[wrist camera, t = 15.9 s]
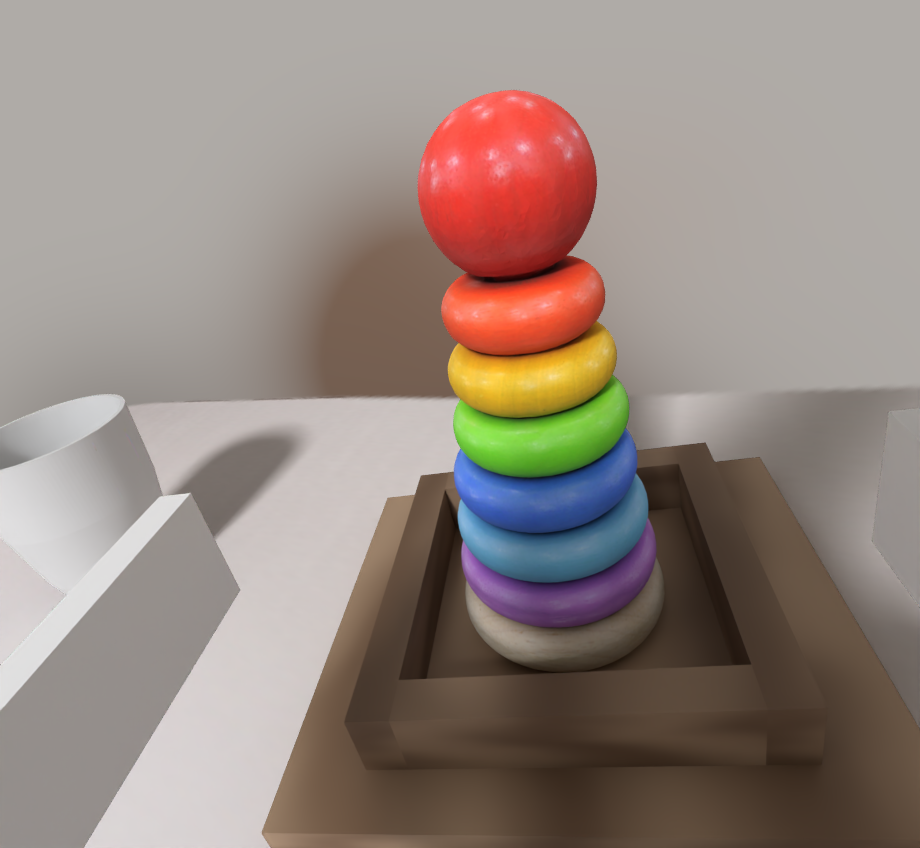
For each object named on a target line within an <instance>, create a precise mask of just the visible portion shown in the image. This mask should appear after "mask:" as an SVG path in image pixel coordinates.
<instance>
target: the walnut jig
mask: <svg viewBox="0 0 920 848" xmlns="http://www.w3.org/2000/svg"><path fill="white" fill-rule="evenodd" d="M636 474H637V475H638V477H639V478H640V479H641V481H642V483H643V485H644V488H645V491H646V493H647V499H648V519H649V520H650V523H651V525H652V528H653V531H654V534H655V539H656V558H657V560H658V562H659V564H660V567H661V570H662V573H663V578H664V587H665V595H664V603H663V607H662V611H661V614H660V616H659V619H658V621H657V623H656V625H655V627H654V628H653V630H652V631H651V632H650V634H649V635H648V636H647V638H646V639H645V640H644V641H643V642H642V643H641V644H640V645H639V646H637V647H636V648H635V649H634V650H633V651H631V652H630V653H628V654H627V655H625V656H624V657H622V658H620V659H618V660H616V661H614V662H612V663H610V664H607V665H604V666H602V667H599V668H595V669H591V670H586V671H579V672H549V671H543V670H537V669H533V668H529V667H526V666H523V665H520V664H518V663H515V662H513V661H511V660H509V659H507V658H505V657H504V656H502V655H500V654H499V653H498V652H496V651H495V650H494V649H493V648H491V647H490V646H489V645H488V644H487V643H486V642H485V641H484V640H483V638H482V637H481V636H480V635H479V633H478V632H477V631H476V629H475V627H474V625H473V624H472V621H471V619H470V617H469V613H468V610H467V606H466V599H465V587H466V577H465V574H464V571H463V568H462V558H461V551H462V543H463V538H462V536H461V533H460V529H459V524H458V509H459V503H460V500H461V498H460V496H459V494H458V491H457V489H456V486H455V480H454V472H448V473H440V474H431V475H422V476H421V477H420V481H419V484H418V487H417V490H416V493H415V495H410V496H400V497H391V498H387V501H386V504H385V506H384V509H383V512H382V514H381V517H380V520H379V522H378V525H377V528H376V530H375V533H374V536H373V538H372V541H371V544H370V546H369V549H368V552H367V554H366V557H365V560H364V562H363V565H362V567H361V570H360V573H359V575H358V578H357V581H356V583H355V586H354V589H353V591H352V594H351V597H350V599H349V602H348V605H347V607H346V610H345V613H344V615H343V618H342V621H341V623H340V626H339V629H338V631H337V634H336V636H335V639H334V642H333V644H332V647H331V650H330V652H329V655H328V658H327V660H326V663H325V666H324V668H323V671H322V674H321V676H320V679H319V682H318V684H317V687H316V690H315V692H314V695H313V698H312V700H311V703H310V705H309V708H308V711H307V713H306V716H305V719H304V721H303V724H302V727H301V729H300V732H299V735H298V737H297V740H296V743H295V745H294V748H293V751H292V753H291V756H290V759H289V761H288V764H287V767H286V769H285V772H284V774H283V777H282V780H281V782H280V785H279V788H278V790H277V793H276V796H275V798H274V801H273V804H272V806H271V809H270V812H269V814H268V817H267V820H266V822H265V825H264V828H263V830H262V835H263V836H264V838H265V839H266V841H267V842H268V844H269V846H270V847H271V848H920V729H919V727H918V725H917V724H916V722H915V720H914V718H913V717H912V715H911V713H910V712H909V710H908V708H907V707H906V705H905V703H904V701H903V700H902V698H901V696H900V695H899V693H898V691H897V690H896V688H895V686H894V684H893V683H892V681H891V679H890V678H889V676H888V674H887V673H886V671H885V669H884V667H883V666H882V664H881V662H880V661H879V659H878V657H877V656H876V654H875V652H874V651H873V649H872V647H871V645H870V644H869V642H868V640H867V639H866V637H865V635H864V634H863V632H862V630H861V628H860V627H859V625H858V623H857V622H856V620H855V618H854V617H853V615H852V613H851V611H850V610H849V608H848V606H847V605H846V603H845V601H844V600H843V598H842V596H841V594H840V593H839V591H838V589H837V588H836V586H835V584H834V583H833V581H832V579H831V577H830V576H829V574H828V572H827V571H826V569H825V567H824V566H823V564H822V562H821V561H820V559H819V557H818V555H817V554H816V552H815V550H814V549H813V547H812V545H811V544H810V542H809V540H808V538H807V537H806V535H805V533H804V532H803V530H802V528H801V527H800V525H799V523H798V521H797V520H796V518H795V516H794V515H793V513H792V511H791V510H790V508H789V506H788V504H787V503H786V501H785V499H784V498H783V496H782V494H781V493H780V491H779V489H778V488H777V486H776V484H775V482H774V481H773V479H772V477H771V476H770V474H769V472H768V471H767V469H766V467H765V465H764V464H763V462H762V460H761V459H760V457H756V458H747V459H738V460H729V461H719V462H714V460H713V458H712V456H711V454H710V451H709V449H708V447H707V445H706V443H697V444H689V445H680V446H672V447H663V448H654V449H646V450H637V470H636Z"/></svg>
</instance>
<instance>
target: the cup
mask: <svg viewBox="0 0 920 848" xmlns="http://www.w3.org/2000/svg"><path fill="white" fill-rule="evenodd" d="M160 496H163V495H162V491H161V488H160V485H159V482H158V478H157V475H156V472H155V468H154V465H153V463H152V461H151V459H150V456H149V454H148V452H147V450H146V447H145V445H144V443H143V441H142V438H141V436H140V434H139V432H138V429H137V427H136V425H135V423H134V420H133V418H132V416H131V414H130V411H129V409H128V407H127V405H126V402H125V400H124V398H122V397H121V396H119V395H113V394H103V395H94V396H88V397H83V398H79V399H75V400H71V401H67V402H64V403H60V404H57V405H54V406H51V407H48V408H45V409H42V410H40V411H37V412H34V413H32V414H29V415H27V416H24V417H22V418H20V419H18V420H15V421H13V422H11V423H8V424H6V425H4V426H2V427H0V538H1V539H2V540H3V541H4V542H5V543H6V544H7V545H8V546H9V547H10V548H11V549H12V550H13V551H15V552H16V553H17V554H18V555H19V556H20V557H21V558H22V559H23V560H24V561H25V562H26V563H27V564H29V565H30V566H31V567H32V568H33V569H34V570H35V571H36V572H37V573H38V574H39V575H40V576H41V577H43V578H44V579H45V580H46V581H47V582H48V583H49V584H50V585H51V586H53V587H54V588H56V589H58V590H59V591H61V592H62V593H64V594H65V595H67V594H68V593H69V592H70V591H71V590H72V589H73V588H74V587H75V586H76V584H77V583H78V582H79V581H80V580H81V579H82V578H83V577H84V576H85V575H86V574H87V573H88V572H89V571H90V570H91V569H92V568H93V566H94V565H95V564H96V563H97V562H98V561H99V560H100V559H101V558H102V557H103V556H104V555H105V554H106V553H107V552H108V551H109V550H110V548H111V547H112V546H113V545H114V544H115V543H116V542H117V541H118V540H119V539H120V538H121V537H122V536H123V535H124V534H125V533H126V532H127V530H128V529H129V528H130V527H131V526H132V525H133V524H134V523H135V522H136V521H137V520H138V519H139V518H140V517H141V516H142V515H143V514H144V512H145V511H146V510H147V509H148V508H149V507H150V506H151V505H152V504H153V503H154V502H155V501H156V500H157V499H158V498H159V497H160Z"/></svg>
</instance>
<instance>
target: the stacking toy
mask: <svg viewBox="0 0 920 848" xmlns="http://www.w3.org/2000/svg"><path fill="white" fill-rule="evenodd" d="M596 187H597V176H596V166H595V161H594V156H593V153H592V150H591V148H590V145H589V143H588V140H587V138H586V136H585V134H584V132H583V131H582V129H581V128H580V126H579V125H578V123H577V122H576V120H575V119H574V118H573V117H572V116H571V115H570V114H569V113H568V112H567V111H565V110H564V109H563V108H562V107H561V106H559V105H557V104H556V103H555V102H553V101H552V100H549V99H548V98H546V97H543V96H540V95H537V94H534V93H530V92H526V91H517V90H509V91H499V92H494V93H490V94H486V95H483V96H480V97H477V98H475V99H473V100H470V101H468V102H467V103H465V104H464V105H462V106H460V107H458V108H457V109H455V110H454V111H453V112H452V113H450V114H449V116H447V117H446V118H445V119H444V121H443V122H442V123H441V124H440V125H439V126H438V128H437V129H436V131H435V132H434V134H433V135H432V137H431V139H430V140H429V142H428V144H427V146H426V149H425V152H424V154H423V157H422V160H421V165H420V170H419V175H418V197H419V205H420V209H421V214H422V217H423V220H424V223H425V225H426V227H427V230H428V232H429V234H430V235H431V237H432V239H433V241H434V242H435V244H436V245H437V247H438V248H439V249H440V250H441V251H442V252H443V254H444V255H445V256H446V257H447V258H448V259H449V260H450V261H452V262H453V263H454V264H455V265H457V266H458V267H460V268H461V269H462V270H464V271H466V272H468V273H466V274H464V275H462V276H461V277H459V278H458V279H457V280H456V281H454V282H453V284H452V285H451V286H450V287H449V288H448V290H447V291H446V293H445V296H444V298H443V302H442V309H441V310H442V318H443V321H444V324H445V327H446V328H447V330H448V332H449V334H450V335H451V337H452V338H453V339H454V340H456V341H457V342H458V344H457V346H456V347H455V348H454V350H453V352H452V354H451V357H450V360H449V364H448V376H449V381H450V384H451V386H452V388H453V390H454V392H455V393H456V395H457V396H458V397H459V398H460V401H459V403H458V405H457V407H456V410H455V413H454V420H453V427H454V433H455V437H456V440H457V442H458V444H459V446H460V448H461V449H460V451H459V453H458V455H457V458H456V461H455V466H454V480H455V486H456V489H457V491H458V494H459V496H460V498H461V500H460V503H459V509H458V524H459V529H460V533H461V536H462V538H463V543H462V551H461V558H462V568H463V571H464V574H465V577H466V587H465V599H466V606H467V610H468V613H469V617H470V619H471V621H472V624H473V625H474V627H475V629H476V631H477V632H478V633H479V635H480V636H481V637H482V638H483V640H484V641H485V642H486V643H487V644H488V645H489V646H490V647H491V648H493V649H494V650H495V651H496V652H498V653H499V654H500V655H502V656H504V657H505V658H507V659H509V660H511V661H513V662H515V663H518V664H520V665H523V666H526V667H529V668H533V669H537V670H543V671H549V672H579V671H586V670H591V669H595V668H599V667H602V666H604V665H607V664H610V663H612V662H614V661H616V660H618V659H620V658H622V657H624V656H625V655H627V654H628V653H630V652H631V651H633V650H634V649H635V648H636V647H637V646H639V645H640V644H641V643H642V642H643V641H644V640H645V639H646V638H647V636H648V635H649V634H650V632H651V631H652V630H653V628H654V627H655V625H656V623H657V621H658V619H659V616H660V614H661V611H662V607H663V603H664V595H665V587H664V578H663V573H662V570H661V567H660V564H659V562H658V560H657V558H656V539H655V534H654V531H653V528H652V525H651V523H650V520H649V519H648V499H647V493H646V491H645V488H644V485H643V483H642V481H641V479H640V478H639V477H638V475H637V474H636V470H637V451H636V447H635V443H634V441H633V439H632V437H631V435H630V433H629V432H628V430H627V429H626V425H627V422H628V417H629V401H628V396H627V393H626V391H625V388H624V387H623V386H622V384H621V383H620V381H619V380H618V379H617V378H615V376H613V375H612V374H613V372H614V369H615V366H616V360H617V352H616V346H615V343H614V340H613V337H612V336H611V334H610V333H609V331H608V330H607V329H606V328H605V327H604V326H603V325H601V324H600V323H599V322H597V319H598V318H599V316H600V314H601V312H602V310H603V306H604V303H605V289H604V284H603V280H602V278H601V275H600V274H599V273H598V272H597V270H596V269H595V268H594V267H593V266H591V265H590V264H589V263H587V262H585V261H584V260H581V259H579V258H576V257H573V256H566V255H567V254H568V253H569V252H570V251H571V250H572V249H573V248H574V246H575V245H576V244H577V242H578V241H579V240H580V238H581V237H582V235H583V233H584V231H585V229H586V227H587V224H588V222H589V220H590V218H591V214H592V211H593V208H594V203H595V198H596Z"/></svg>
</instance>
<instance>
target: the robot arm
mask: <svg viewBox="0 0 920 848" xmlns="http://www.w3.org/2000/svg"><path fill="white" fill-rule="evenodd" d="M872 542H873V544H874V545H875V546H876V548H877V549H878V550H879V552H880V553H881V555H882V556H883V557H884V559H885V560H886V562H887V563H888V564H889V566H890V567H891V569H892V570H893V571H894V573H895V574H896V575H897V577H898V578H899V580H900V581H901V582H902V584H903V585H904V587H905V588H906V589H907V591H908V592H909V594H910V595H911V596H912V598H913V599H914V600H915V602H916V603H917V605H918V606H919V607H920V408H912V409H904V410H895V411H889V412H888V420H887V428H886V435H885V443H884V451H883V459H882V466H881V474H880V482H879V490H878V497H877V505H876V513H875V521H874V528H873V536H872ZM239 591H240V588H239V586H238V584H237V582H236V580H235V578H234V577H233V575H232V573H231V571H230V569H229V567H228V565H227V563H226V561H225V559H224V557H223V555H222V553H221V551H220V549H219V547H218V545H217V543H216V541H215V539H214V537H213V535H212V533H211V531H210V529H209V527H208V525H207V523H206V521H205V519H204V517H203V516H202V514H201V512H200V510H199V508H198V506H197V504H196V502H195V500H194V498H193V496H192V494H191V493H186V494H177V495H169V496H160V497H159V498H158V499H157V500H156V501H155V502H154V503H153V504H152V505H151V506H150V507H149V508H148V509H147V510H146V511H145V512H144V514H143V515H142V516H141V517H140V518H139V519H138V520H137V521H136V522H135V523H134V524H133V525H132V526H131V527H130V528H129V529H128V530H127V532H126V533H125V534H124V535H123V536H122V537H121V538H120V539H119V540H118V541H117V542H116V543H115V544H114V545H113V546H112V547H111V548H110V550H109V551H108V552H107V553H106V554H105V555H104V556H103V557H102V558H101V559H100V560H99V561H98V562H97V563H96V564H95V565H94V566H93V568H92V569H91V570H90V571H89V572H88V573H87V574H86V575H85V576H84V577H83V578H82V579H81V580H80V581H79V582H78V583H77V584H76V586H75V587H74V588H73V589H72V590H71V591H70V592H69V593H68V594H67V595H66V596H65V597H64V598H63V599H62V600H61V601H60V603H59V604H58V605H57V606H56V607H55V608H54V609H53V610H52V611H51V612H50V613H49V614H48V615H47V616H46V617H45V618H44V619H43V621H42V622H41V623H40V624H39V625H38V626H37V627H36V628H35V629H34V630H33V631H32V632H31V633H30V634H29V635H28V636H27V637H26V639H25V640H24V641H23V642H22V643H21V644H20V645H19V646H18V647H17V648H16V649H15V650H14V651H13V652H12V653H11V654H10V655H9V657H8V658H7V659H6V660H5V661H4V662H3V663H2V664H1V665H0V848H84V846H85V845H86V843H87V841H88V840H89V838H90V837H91V835H92V833H93V832H94V830H95V828H96V827H97V825H98V823H99V822H100V820H101V818H102V817H103V815H104V813H105V812H106V810H107V809H108V807H109V805H110V804H111V802H112V800H113V799H114V797H115V795H116V794H117V792H118V790H119V789H120V787H121V785H122V784H123V782H124V781H125V779H126V777H127V776H128V774H129V772H130V771H131V769H132V767H133V766H134V764H135V762H136V761H137V759H138V758H139V756H140V754H141V753H142V751H143V749H144V748H145V746H146V744H147V743H148V741H149V739H150V738H151V736H152V734H153V733H154V731H155V730H156V728H157V726H158V725H159V723H160V721H161V720H162V718H163V716H164V715H165V713H166V711H167V710H168V708H169V706H170V705H171V703H172V702H173V700H174V698H175V697H176V695H177V693H178V692H179V690H180V688H181V687H182V685H183V683H184V682H185V680H186V678H187V677H188V675H189V674H190V672H191V670H192V669H193V667H194V665H195V664H196V662H197V660H198V659H199V657H200V655H201V654H202V652H203V651H204V649H205V647H206V646H207V644H208V642H209V641H210V639H211V637H212V636H213V634H214V632H215V631H216V629H217V627H218V626H219V624H220V623H221V621H222V619H223V618H224V616H225V614H226V613H227V611H228V609H229V608H230V606H231V604H232V603H233V601H234V599H235V598H236V596H237V595H238V593H239Z"/></svg>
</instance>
